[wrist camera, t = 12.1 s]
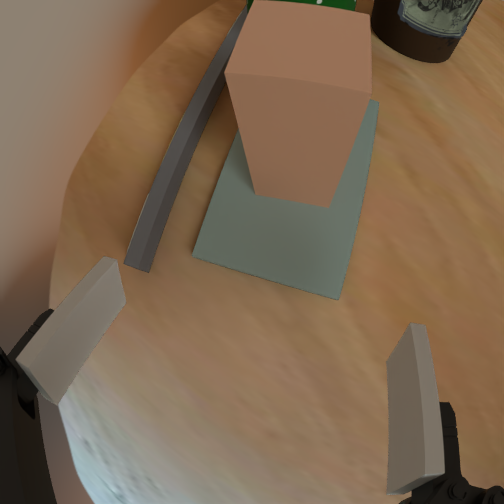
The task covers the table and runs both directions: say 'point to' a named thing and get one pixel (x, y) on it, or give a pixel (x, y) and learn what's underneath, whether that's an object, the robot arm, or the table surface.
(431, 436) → the robot arm
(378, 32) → the olive oil
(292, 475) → the table surface
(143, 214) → the rail
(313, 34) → the tea box
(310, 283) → the facing board
